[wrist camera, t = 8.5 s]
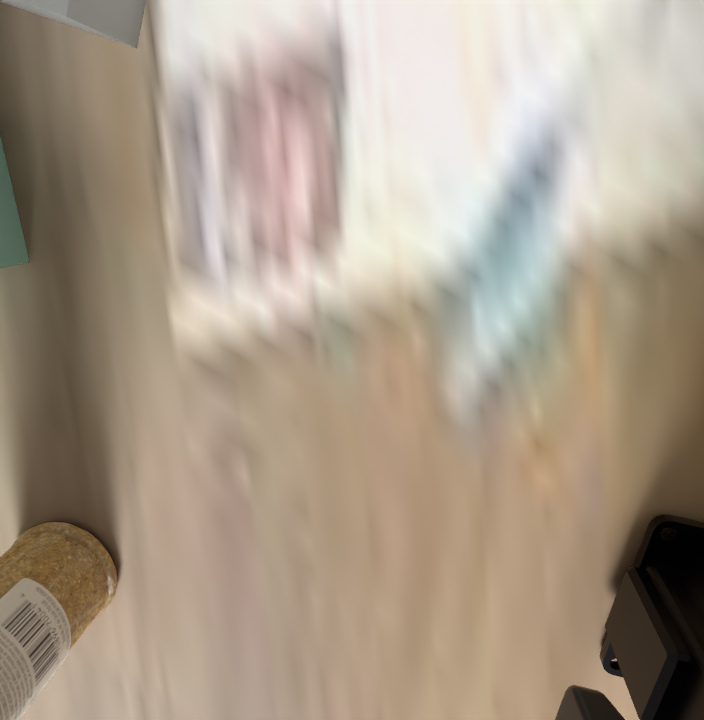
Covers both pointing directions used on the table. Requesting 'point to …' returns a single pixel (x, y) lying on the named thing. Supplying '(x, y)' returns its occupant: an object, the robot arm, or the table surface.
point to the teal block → (9, 221)
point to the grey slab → (92, 16)
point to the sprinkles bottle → (47, 606)
